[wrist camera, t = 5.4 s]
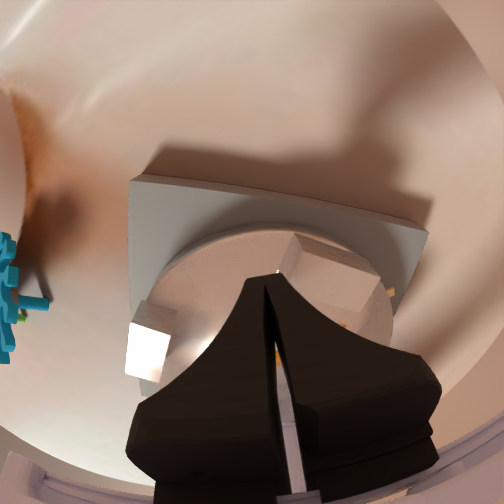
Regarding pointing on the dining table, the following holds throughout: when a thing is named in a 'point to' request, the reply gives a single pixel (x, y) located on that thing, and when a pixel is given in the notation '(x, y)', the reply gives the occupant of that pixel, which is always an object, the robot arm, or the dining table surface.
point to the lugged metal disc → (229, 288)
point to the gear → (12, 298)
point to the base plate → (247, 212)
